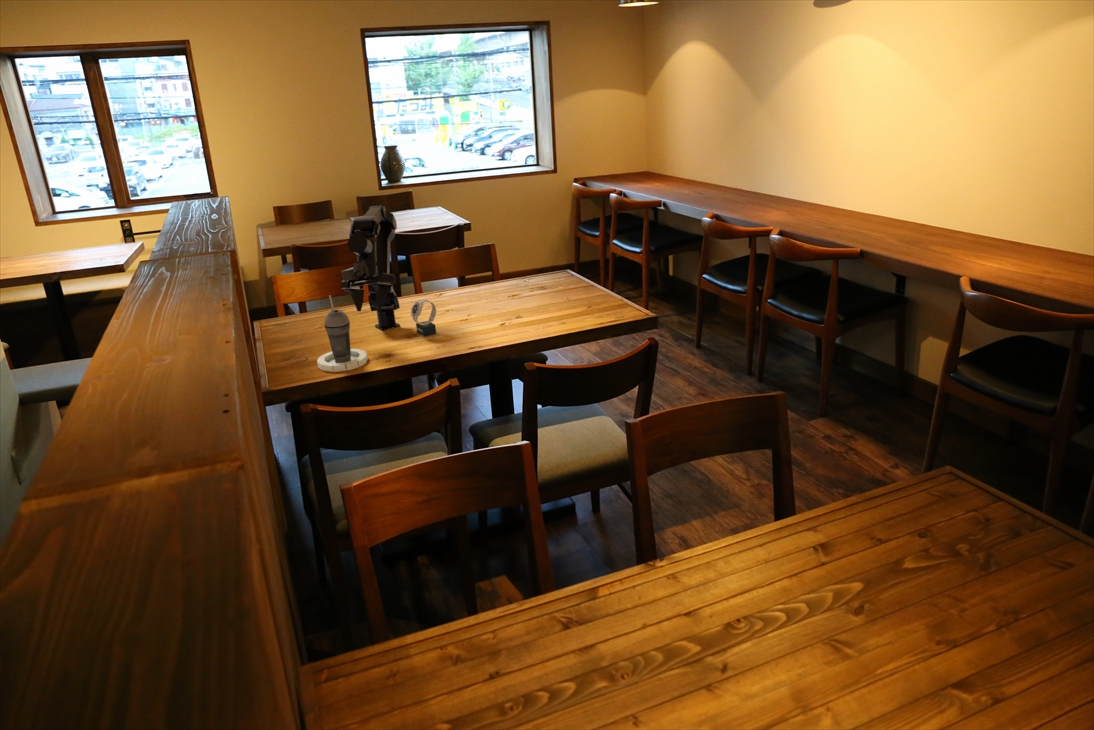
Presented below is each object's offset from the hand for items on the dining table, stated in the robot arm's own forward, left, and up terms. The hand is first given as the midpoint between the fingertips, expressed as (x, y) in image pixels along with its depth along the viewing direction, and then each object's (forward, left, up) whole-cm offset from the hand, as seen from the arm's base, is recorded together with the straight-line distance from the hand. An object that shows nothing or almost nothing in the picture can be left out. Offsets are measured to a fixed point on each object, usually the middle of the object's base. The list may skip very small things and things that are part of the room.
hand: (369, 309), depth 224 cm
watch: (0, +18, -12) cm, 22 cm away
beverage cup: (+6, -13, -12) cm, 18 cm away
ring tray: (+6, -13, -12) cm, 18 cm away
